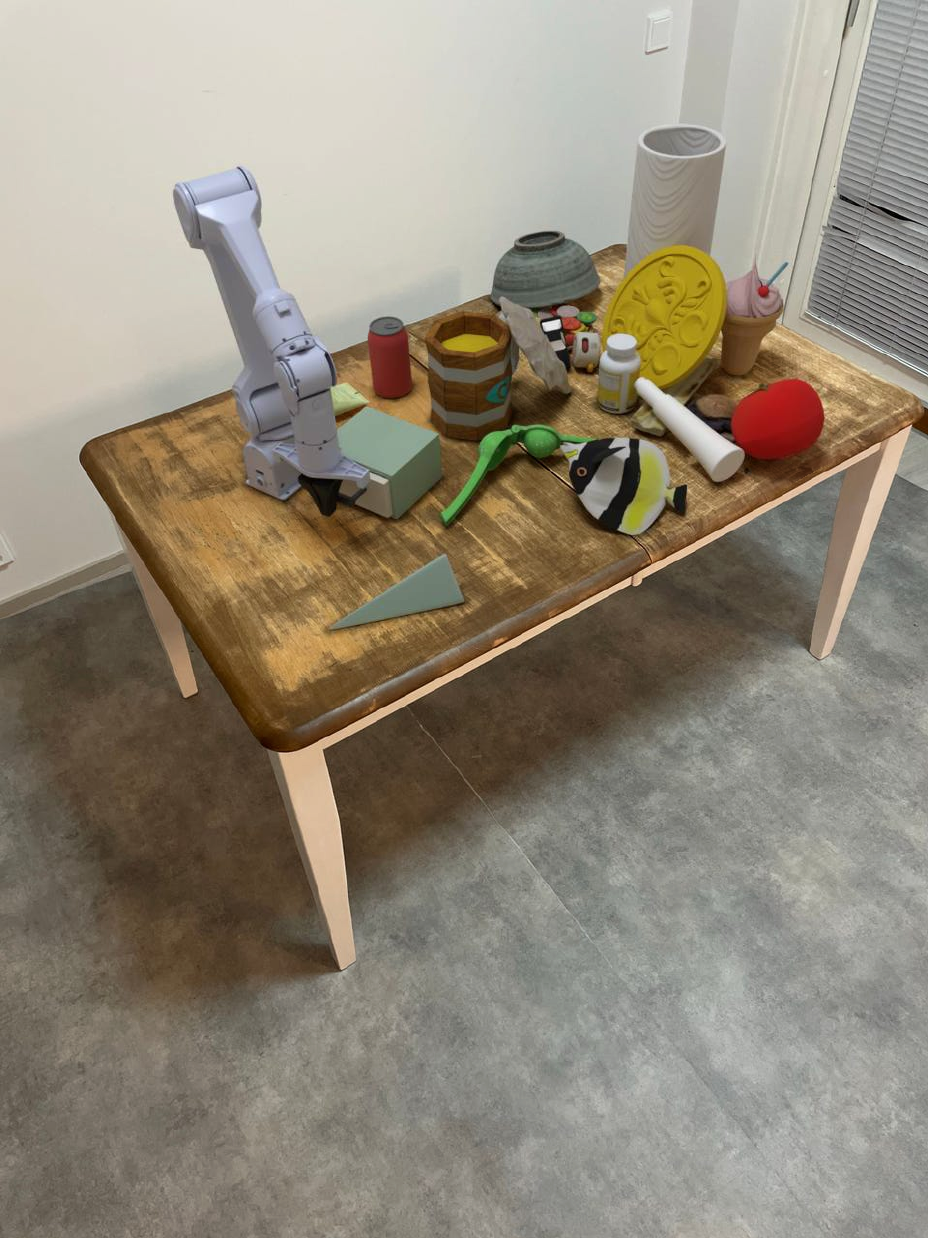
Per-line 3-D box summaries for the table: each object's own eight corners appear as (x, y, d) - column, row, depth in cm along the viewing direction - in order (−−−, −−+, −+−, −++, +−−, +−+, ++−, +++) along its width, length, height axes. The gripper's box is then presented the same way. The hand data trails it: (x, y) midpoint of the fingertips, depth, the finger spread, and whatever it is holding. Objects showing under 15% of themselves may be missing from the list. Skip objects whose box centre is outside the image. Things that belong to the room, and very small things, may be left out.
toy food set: (505, 340, 174) (504, 323, 171) (544, 308, 181) (544, 291, 178) (568, 362, 168) (569, 345, 166) (607, 328, 175) (608, 311, 173)
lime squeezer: (446, 528, 140) (443, 494, 135) (413, 482, 147) (410, 448, 142) (645, 461, 148) (649, 427, 144) (605, 421, 156) (608, 387, 151)
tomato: (848, 441, 140) (826, 364, 137) (758, 476, 140) (734, 401, 138) (814, 436, 152) (793, 365, 149) (731, 468, 152) (709, 399, 150)
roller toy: (595, 355, 170) (600, 325, 166) (600, 375, 165) (605, 344, 161) (570, 355, 170) (574, 324, 165) (574, 374, 165) (578, 344, 161)
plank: (686, 361, 167) (688, 347, 165) (718, 370, 165) (720, 356, 163) (628, 432, 154) (629, 418, 152) (662, 443, 152) (664, 429, 150)
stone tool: (590, 414, 159) (519, 330, 139) (568, 424, 160) (495, 343, 140) (576, 358, 164) (506, 269, 144) (555, 368, 166) (483, 282, 145)
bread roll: (673, 421, 155) (675, 401, 153) (700, 396, 160) (703, 377, 157) (732, 445, 150) (736, 425, 148) (759, 419, 155) (763, 399, 152)
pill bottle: (637, 394, 161) (644, 331, 153) (635, 416, 157) (642, 353, 148) (598, 391, 162) (602, 328, 154) (594, 414, 158) (599, 350, 149)
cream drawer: (370, 534, 138) (365, 500, 133) (304, 505, 143) (297, 471, 138) (429, 479, 146) (427, 445, 142) (365, 453, 151) (360, 419, 147)
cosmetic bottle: (743, 441, 140) (650, 359, 151) (709, 467, 140) (620, 383, 152) (747, 464, 145) (657, 382, 157) (714, 489, 145) (627, 405, 157)
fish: (576, 400, 134) (559, 498, 130) (709, 434, 136) (697, 532, 132) (554, 438, 146) (538, 529, 142) (677, 468, 148) (664, 559, 144)
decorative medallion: (648, 420, 158) (640, 417, 157) (585, 332, 170) (578, 328, 169) (754, 305, 146) (747, 300, 144) (678, 219, 158) (671, 214, 157)
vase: (657, 292, 183) (678, 115, 160) (716, 321, 175) (747, 139, 152) (603, 319, 177) (617, 139, 154) (662, 350, 169) (685, 166, 146)
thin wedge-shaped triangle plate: (352, 665, 122) (471, 593, 125) (326, 622, 123) (444, 552, 126) (353, 672, 130) (465, 605, 133) (329, 632, 131) (440, 566, 134)
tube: (260, 453, 156) (361, 412, 164) (267, 443, 151) (371, 401, 160) (243, 421, 155) (346, 382, 164) (250, 410, 151) (355, 370, 159)
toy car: (572, 371, 166) (571, 364, 164) (549, 376, 167) (548, 369, 164) (562, 320, 169) (561, 311, 166) (539, 324, 169) (538, 317, 167)
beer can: (411, 399, 162) (405, 335, 154) (372, 400, 163) (364, 336, 154) (413, 377, 167) (408, 313, 158) (375, 378, 167) (367, 314, 158)
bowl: (510, 220, 189) (518, 271, 195) (463, 258, 175) (472, 312, 181) (611, 216, 180) (616, 270, 186) (570, 255, 166) (576, 312, 172)
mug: (480, 451, 152) (477, 367, 141) (413, 422, 157) (406, 340, 147) (550, 392, 162) (553, 309, 151) (485, 367, 168) (483, 286, 157)
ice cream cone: (767, 352, 168) (791, 240, 153) (770, 388, 161) (796, 274, 146) (703, 349, 169) (721, 238, 155) (703, 384, 162) (722, 271, 147)
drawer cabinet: (396, 519, 141) (391, 476, 136) (325, 488, 147) (317, 445, 141) (442, 477, 148) (439, 433, 142) (371, 448, 153) (366, 405, 147)
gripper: (377, 430, 128) (387, 509, 138) (287, 403, 133) (302, 482, 143) (349, 459, 124) (360, 539, 134) (257, 431, 129) (274, 510, 139)
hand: (329, 511), depth 138 cm, fingers closed, pressing on cream drawer
